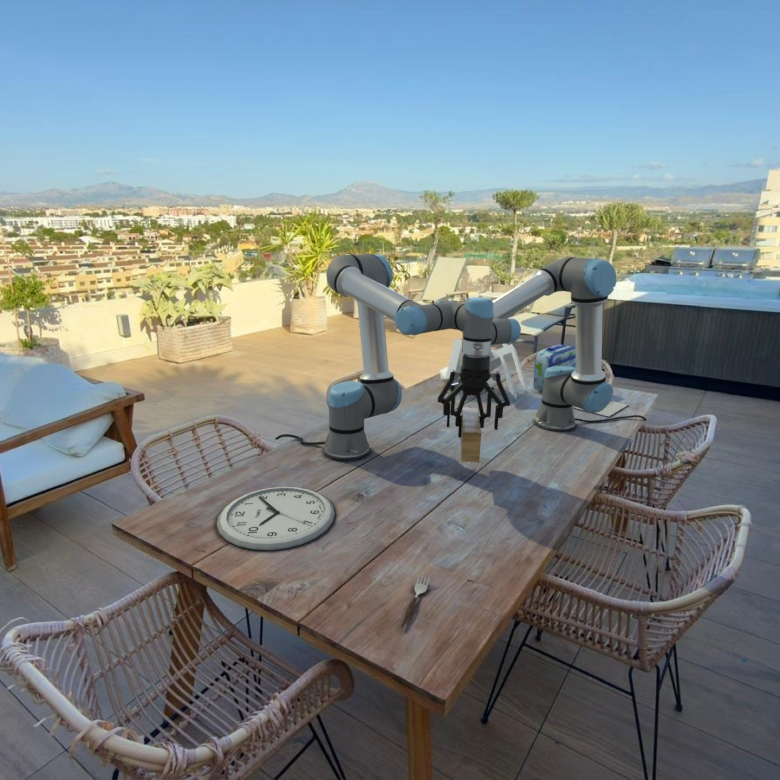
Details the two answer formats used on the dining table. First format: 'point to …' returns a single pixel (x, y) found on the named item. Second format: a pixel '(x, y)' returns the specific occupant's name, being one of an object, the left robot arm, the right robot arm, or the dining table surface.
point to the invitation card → (610, 408)
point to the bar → (470, 435)
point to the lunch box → (552, 361)
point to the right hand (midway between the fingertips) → (468, 436)
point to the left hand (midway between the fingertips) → (471, 427)
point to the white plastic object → (495, 361)
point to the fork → (419, 589)
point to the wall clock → (275, 518)
